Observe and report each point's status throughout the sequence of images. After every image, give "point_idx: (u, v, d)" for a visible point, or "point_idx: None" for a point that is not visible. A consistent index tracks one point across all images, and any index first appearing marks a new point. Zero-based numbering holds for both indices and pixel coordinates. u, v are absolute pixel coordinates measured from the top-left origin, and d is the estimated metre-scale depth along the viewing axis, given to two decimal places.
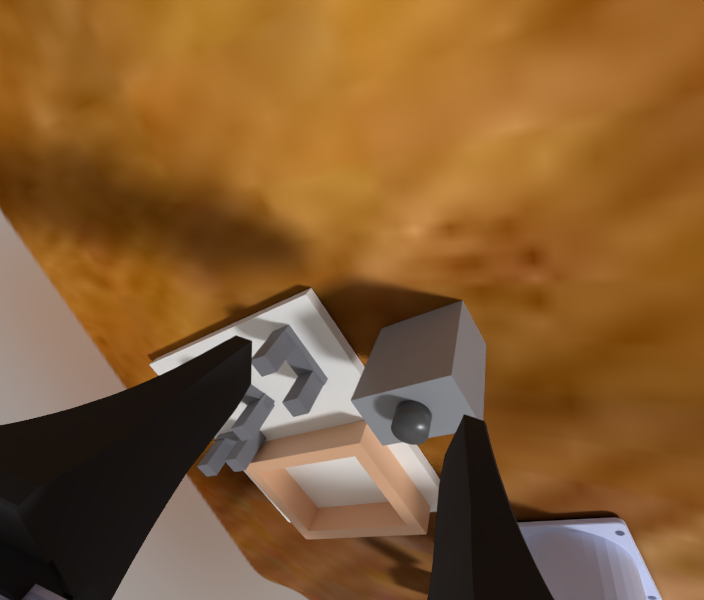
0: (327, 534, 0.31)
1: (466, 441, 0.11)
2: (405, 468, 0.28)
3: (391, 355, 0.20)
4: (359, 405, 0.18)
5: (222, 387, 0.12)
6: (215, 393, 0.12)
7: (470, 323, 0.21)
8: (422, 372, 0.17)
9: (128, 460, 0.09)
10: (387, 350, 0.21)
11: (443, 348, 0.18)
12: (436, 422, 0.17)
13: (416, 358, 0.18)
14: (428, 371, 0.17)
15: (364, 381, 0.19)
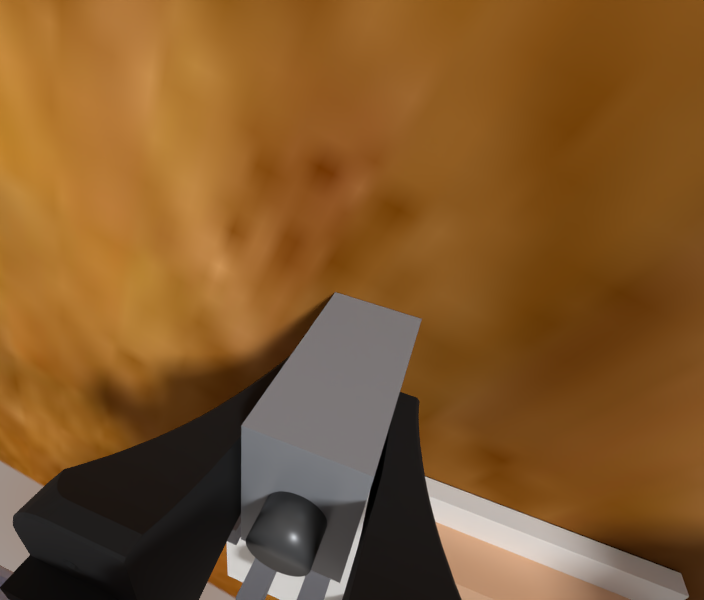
0: None
1: (393, 415, 0.11)
2: (541, 561, 0.16)
3: None
4: None
5: None
6: None
7: (359, 312, 0.13)
8: None
9: (209, 494, 0.08)
10: None
11: None
12: (327, 507, 0.09)
13: None
14: None
15: None
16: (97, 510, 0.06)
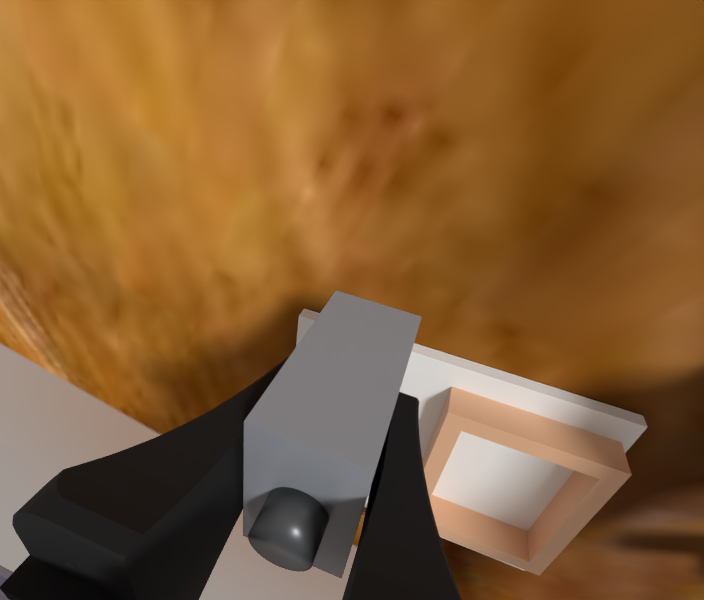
0: (548, 553, 0.24)
1: (393, 415, 0.11)
2: (541, 413, 0.22)
3: None
4: None
5: None
6: None
7: (359, 310, 0.13)
8: None
9: (209, 494, 0.08)
10: None
11: None
12: (329, 503, 0.09)
13: None
14: None
15: None
16: (97, 511, 0.06)
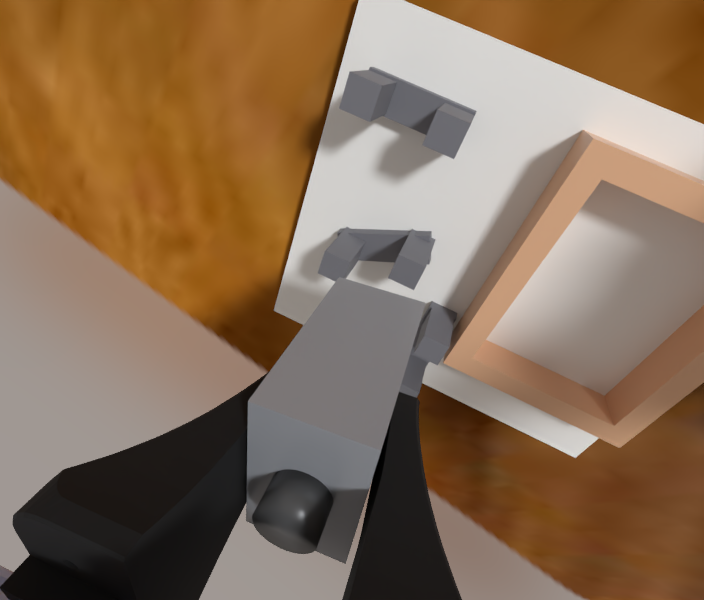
0: (650, 410, 0.17)
1: (393, 415, 0.11)
2: None
3: None
4: None
5: None
6: None
7: (362, 295, 0.13)
8: None
9: (209, 494, 0.08)
10: None
11: None
12: (334, 484, 0.09)
13: None
14: None
15: None
16: (97, 511, 0.06)
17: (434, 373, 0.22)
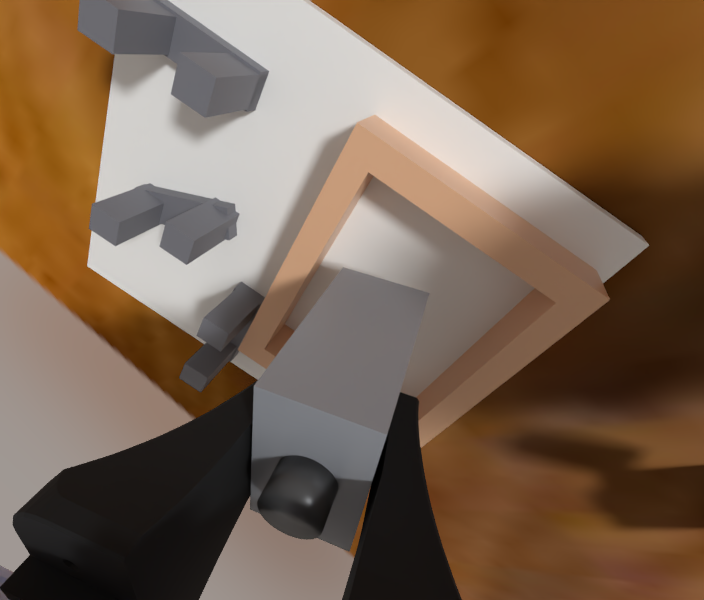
0: (428, 428, 0.17)
1: None
2: (498, 195, 0.13)
3: None
4: None
5: None
6: None
7: (367, 285, 0.13)
8: None
9: (209, 494, 0.08)
10: None
11: None
12: (339, 470, 0.09)
13: None
14: None
15: None
16: (98, 510, 0.07)
17: (250, 359, 0.21)
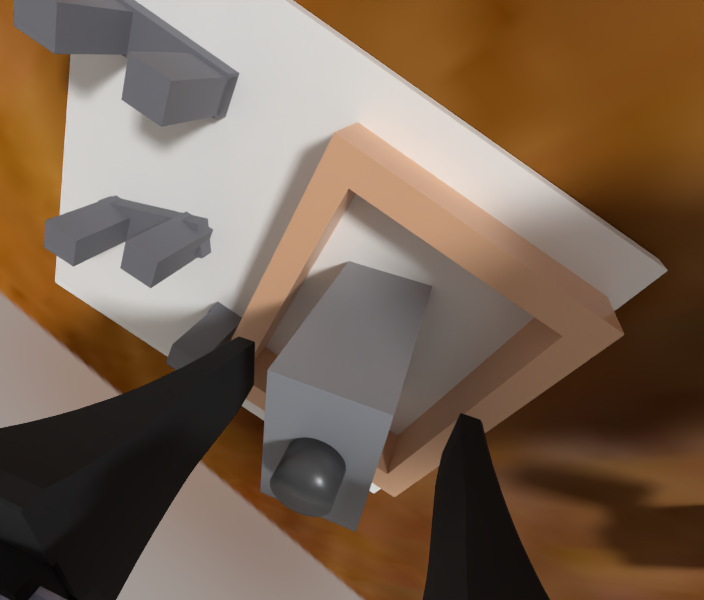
0: (420, 465, 0.15)
1: (462, 440, 0.11)
2: (497, 213, 0.12)
3: None
4: (272, 491, 0.12)
5: (225, 388, 0.12)
6: (218, 394, 0.12)
7: (372, 279, 0.13)
8: None
9: (132, 461, 0.09)
10: None
11: None
12: (347, 451, 0.10)
13: None
14: None
15: None
16: (4, 467, 0.07)
17: None
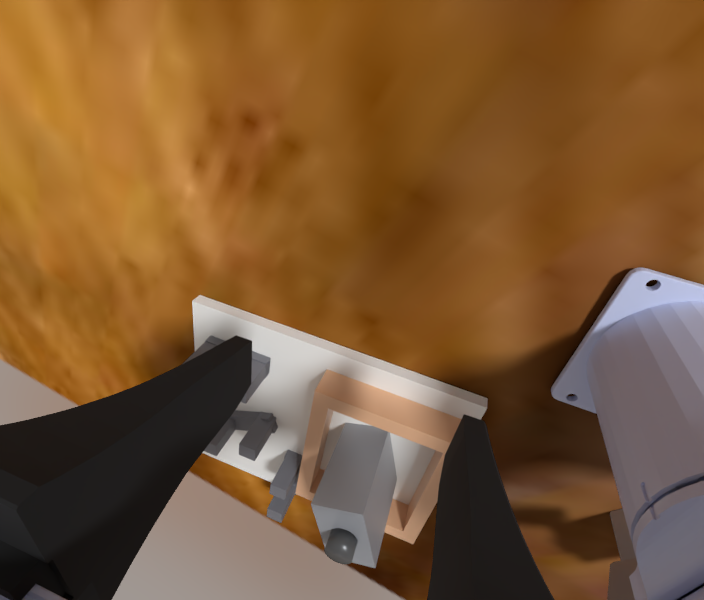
0: (416, 523, 0.27)
1: (466, 441, 0.11)
2: (402, 395, 0.24)
3: None
4: None
5: (222, 387, 0.12)
6: (215, 393, 0.12)
7: (357, 432, 0.26)
8: None
9: (128, 459, 0.09)
10: None
11: None
12: (354, 531, 0.22)
13: None
14: None
15: None
16: None
17: None
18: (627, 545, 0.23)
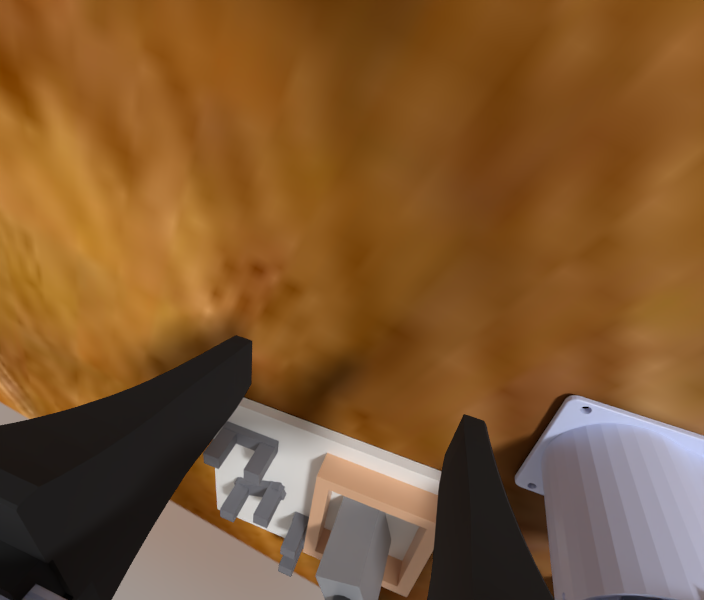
0: (408, 581, 0.30)
1: (466, 441, 0.11)
2: (391, 476, 0.28)
3: None
4: None
5: (222, 387, 0.12)
6: (215, 393, 0.12)
7: (355, 504, 0.30)
8: None
9: (128, 460, 0.09)
10: None
11: None
12: (352, 598, 0.26)
13: None
14: None
15: None
16: None
17: None
18: None
